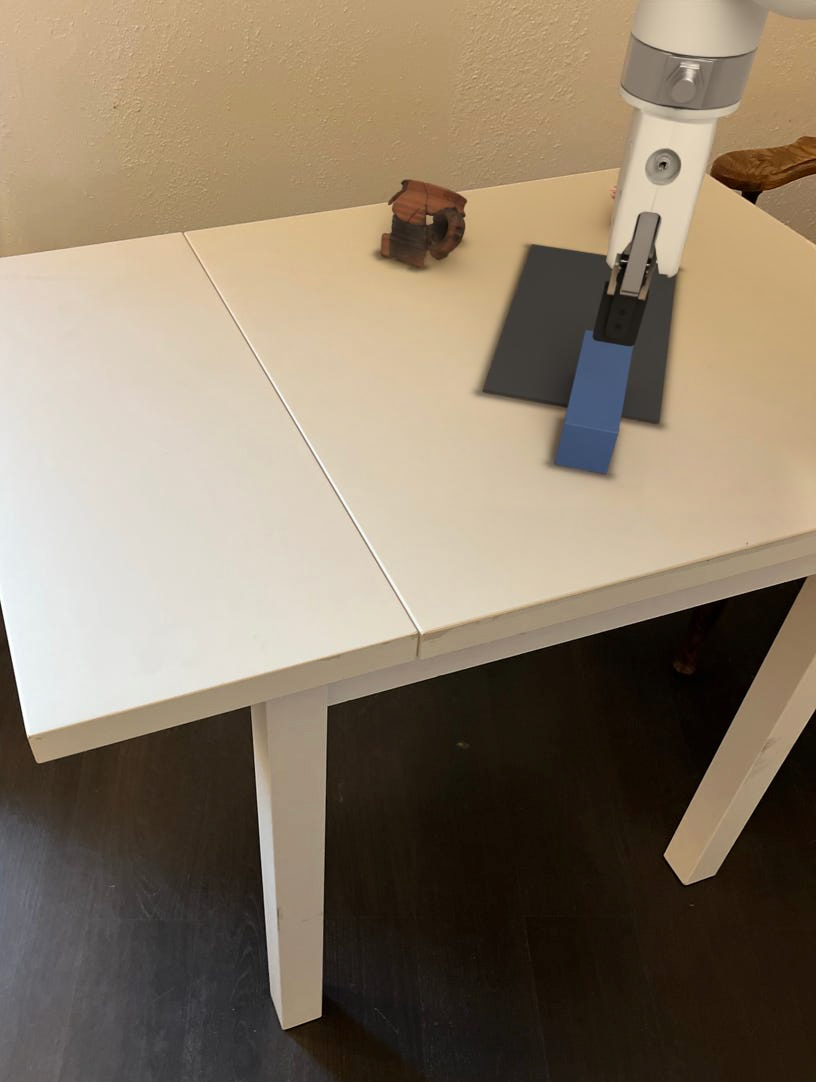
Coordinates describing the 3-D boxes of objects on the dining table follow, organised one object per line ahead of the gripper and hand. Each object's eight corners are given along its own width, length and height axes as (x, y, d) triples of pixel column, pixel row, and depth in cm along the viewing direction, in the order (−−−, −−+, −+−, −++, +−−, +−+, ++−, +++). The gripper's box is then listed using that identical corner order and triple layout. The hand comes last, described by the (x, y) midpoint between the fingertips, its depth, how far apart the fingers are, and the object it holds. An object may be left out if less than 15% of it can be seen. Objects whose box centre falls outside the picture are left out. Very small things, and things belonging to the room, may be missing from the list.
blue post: (606, 474, 80) (622, 379, 89) (618, 433, 77) (634, 337, 85) (554, 464, 81) (575, 370, 89) (564, 422, 77) (585, 329, 86)
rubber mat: (676, 269, 104) (677, 265, 104) (658, 424, 85) (659, 420, 85) (531, 247, 107) (531, 243, 107) (482, 392, 88) (483, 388, 88)
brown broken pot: (358, 249, 107) (379, 171, 104) (421, 270, 112) (443, 197, 110) (420, 266, 98) (446, 181, 95) (485, 288, 104) (511, 209, 101)
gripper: (747, 123, 53) (657, 401, 67) (747, 41, 63) (668, 299, 77) (612, 106, 55) (551, 382, 68) (632, 28, 64) (575, 284, 78)
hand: (613, 337), depth 72 cm, fingers closed
